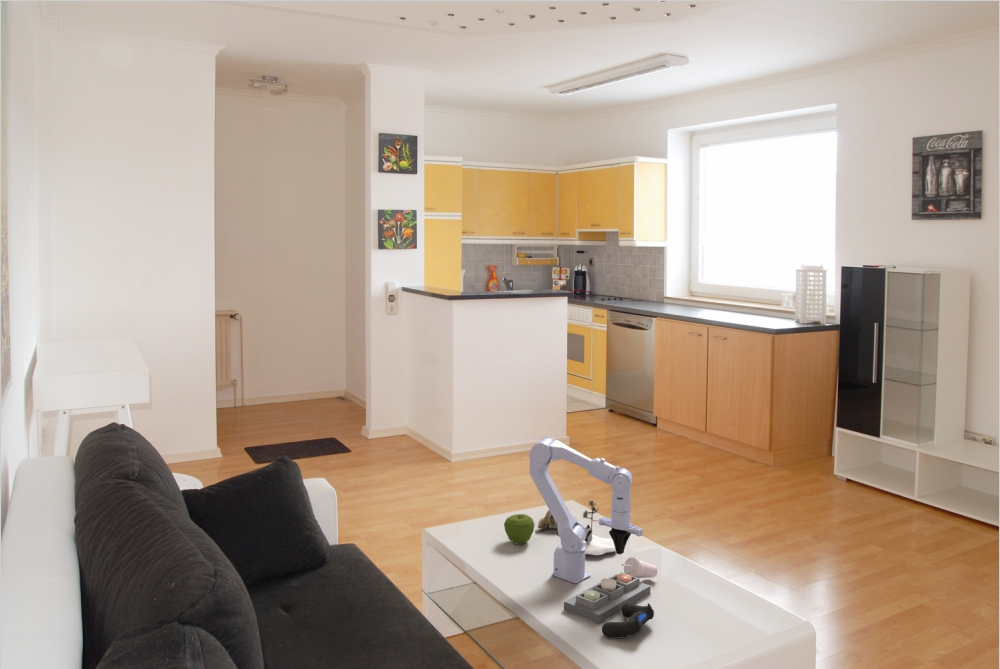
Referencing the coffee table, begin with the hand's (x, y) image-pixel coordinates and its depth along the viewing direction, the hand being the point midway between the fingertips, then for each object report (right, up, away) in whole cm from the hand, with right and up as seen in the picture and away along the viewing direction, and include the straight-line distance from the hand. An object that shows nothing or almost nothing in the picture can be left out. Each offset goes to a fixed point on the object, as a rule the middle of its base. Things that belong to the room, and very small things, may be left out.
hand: (619, 553), depth 236 cm
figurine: (-5, -7, +29) cm, 30 cm away
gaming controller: (-2, -13, -28) cm, 31 cm away
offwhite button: (-5, -7, -12) cm, 15 cm away
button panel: (-5, -11, -12) cm, 17 cm away
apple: (-30, -6, +34) cm, 45 cm away
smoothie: (+11, -7, +4) cm, 14 cm away
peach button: (0, -7, -6) cm, 10 cm away
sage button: (-11, -8, -18) cm, 23 cm away
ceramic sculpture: (-16, -5, +49) cm, 52 cm away
